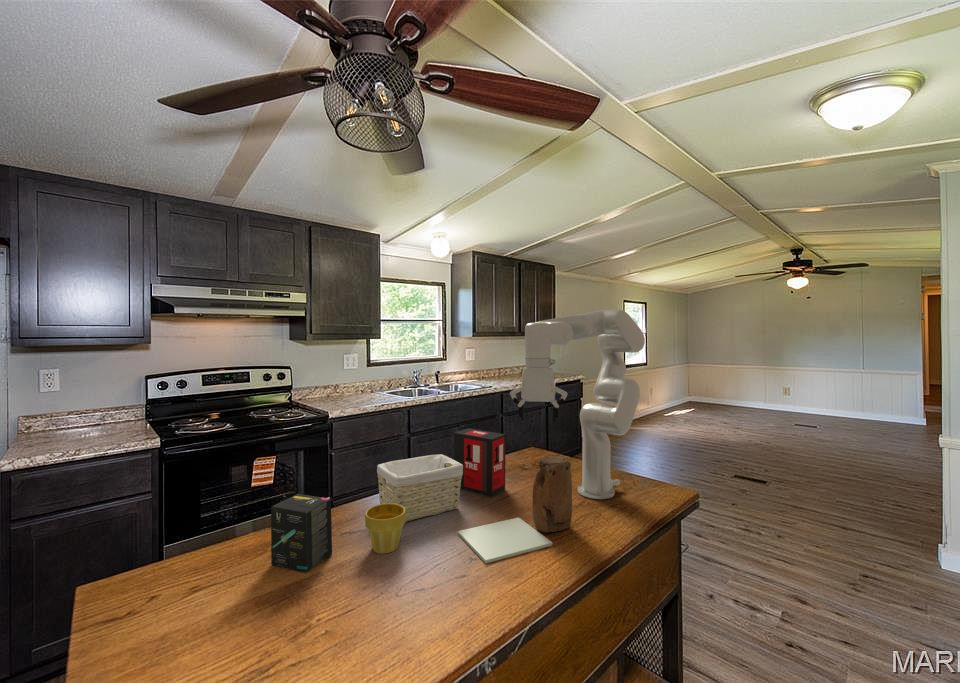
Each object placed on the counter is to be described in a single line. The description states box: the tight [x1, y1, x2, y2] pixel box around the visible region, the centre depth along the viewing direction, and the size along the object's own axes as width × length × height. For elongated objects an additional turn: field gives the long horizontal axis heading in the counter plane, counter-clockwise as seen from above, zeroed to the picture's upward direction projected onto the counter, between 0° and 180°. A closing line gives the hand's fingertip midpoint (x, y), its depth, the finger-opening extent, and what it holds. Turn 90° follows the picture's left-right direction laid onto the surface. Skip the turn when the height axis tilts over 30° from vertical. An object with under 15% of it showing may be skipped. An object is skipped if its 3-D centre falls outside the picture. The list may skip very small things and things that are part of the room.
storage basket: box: [376, 453, 463, 523], centre depth 137 cm, size 24×16×15 cm
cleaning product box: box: [453, 428, 506, 499], centre depth 155 cm, size 16×9×20 cm, turn 55°
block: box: [532, 455, 573, 533], centre depth 124 cm, size 11×8×20 cm
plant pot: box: [364, 503, 406, 554], centre depth 112 cm, size 10×10×10 cm
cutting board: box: [457, 517, 553, 564], centre depth 117 cm, size 20×17×1 cm
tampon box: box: [270, 493, 333, 574], centre depth 106 cm, size 11×9×15 cm
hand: (538, 419), depth 130 cm, fingers open, 9 cm apart
